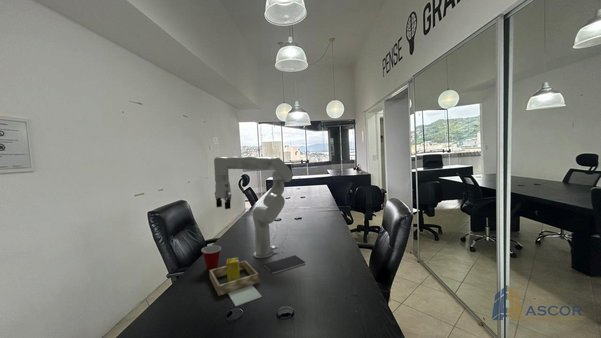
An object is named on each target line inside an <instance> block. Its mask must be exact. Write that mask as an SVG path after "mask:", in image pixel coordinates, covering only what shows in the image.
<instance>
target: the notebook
mask: <svg viewBox="0 0 601 338" xmlns="http://www.w3.org/2000/svg"><path fill="white" fill-rule="evenodd" d="M305 263H306V261H304V260H303V259H301V258H300V257H298V256H297V255H295V254H294V255H290V256H287V257H284V258H280V259H278V260H273V261H270V262H267V263H263V266H264V267H265V268H266V269H267V270H268V271H269V272H270V274H272V275H273V274H277V273H280V272H284V271H287V270H290V269H293V268H296V267H300V266H303V265H305Z"/></svg>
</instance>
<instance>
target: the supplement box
mask: <svg viewBox="0 0 601 338" xmlns="http://www.w3.org/2000/svg"><path fill="white" fill-rule="evenodd" d="M239 262H240V259H239V257H238V256H237V257H230V258H227V259H226V266H227V275H226V276H227V283H228V282H231V281H234V280H237V279H240V278H241V275H240V274H241V273H240V271H239Z"/></svg>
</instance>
